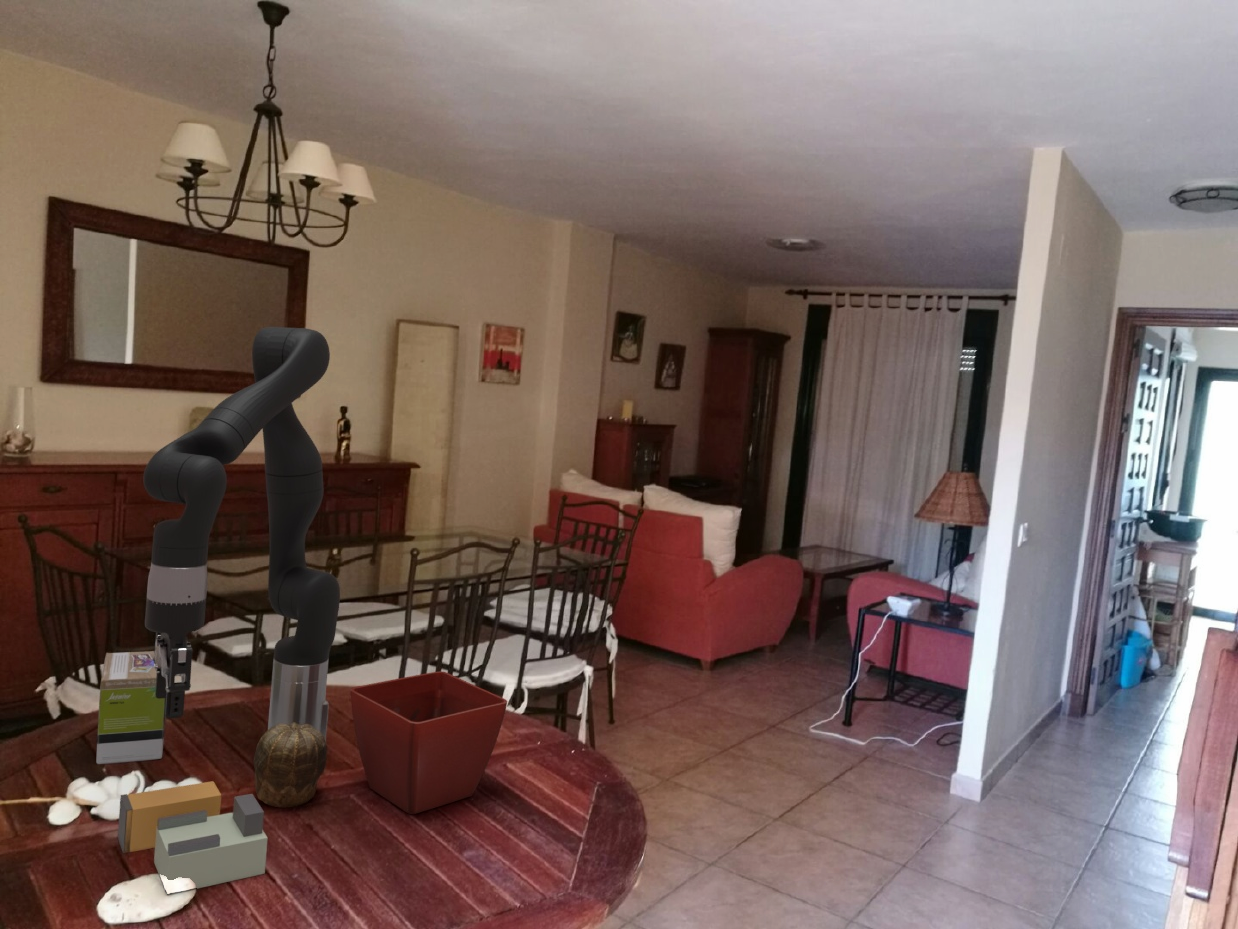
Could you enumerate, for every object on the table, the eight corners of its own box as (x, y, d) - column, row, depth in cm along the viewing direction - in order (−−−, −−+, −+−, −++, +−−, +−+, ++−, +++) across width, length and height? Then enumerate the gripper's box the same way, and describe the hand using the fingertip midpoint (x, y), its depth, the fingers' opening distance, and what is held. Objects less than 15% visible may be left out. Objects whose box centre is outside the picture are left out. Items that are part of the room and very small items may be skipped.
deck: (247, 843, 128) (251, 789, 127) (264, 873, 121) (269, 816, 120) (154, 862, 121) (158, 804, 120) (166, 895, 114) (171, 834, 113)
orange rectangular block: (210, 820, 133) (213, 780, 133) (218, 835, 129) (221, 794, 129) (117, 837, 126) (120, 795, 126) (123, 853, 122) (126, 810, 122)
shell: (254, 818, 135) (260, 741, 134) (247, 787, 145) (253, 715, 144) (328, 810, 140) (335, 735, 139) (317, 780, 150) (323, 711, 149)
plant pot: (338, 785, 149) (347, 686, 148) (433, 759, 163) (442, 669, 162) (403, 831, 136) (413, 723, 135) (500, 799, 150) (510, 701, 149)
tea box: (99, 731, 160) (105, 650, 159) (162, 727, 165) (168, 649, 164) (94, 766, 147) (100, 677, 146) (162, 760, 151) (169, 675, 150)
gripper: (216, 606, 122) (207, 721, 123) (196, 582, 134) (188, 688, 135) (155, 608, 118) (146, 728, 119) (139, 584, 129) (131, 693, 130)
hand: (168, 707), depth 127 cm, fingers open, 8 cm apart
